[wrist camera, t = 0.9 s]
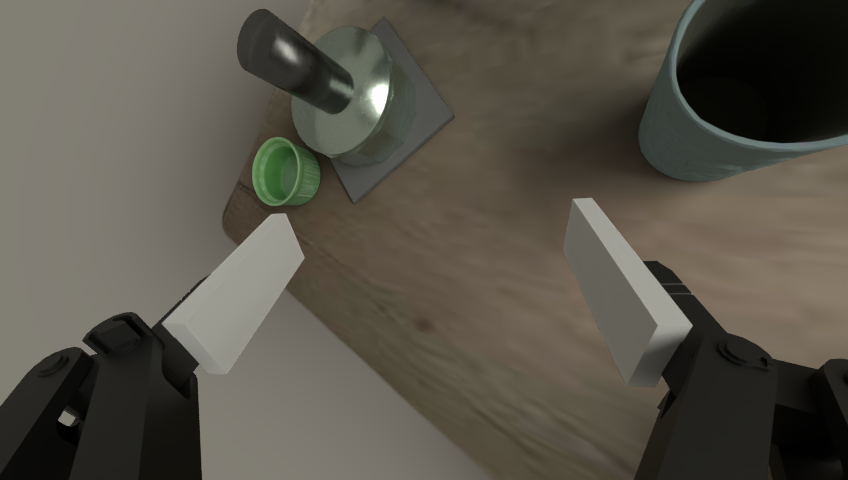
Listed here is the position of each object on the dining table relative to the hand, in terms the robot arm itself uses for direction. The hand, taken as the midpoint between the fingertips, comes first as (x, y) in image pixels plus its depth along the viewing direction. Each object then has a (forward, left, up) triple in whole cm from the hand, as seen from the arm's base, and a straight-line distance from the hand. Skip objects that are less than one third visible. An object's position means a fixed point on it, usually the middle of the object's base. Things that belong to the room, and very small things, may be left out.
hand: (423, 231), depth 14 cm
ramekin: (+19, -23, -19) cm, 35 cm away
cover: (+5, -22, -18) cm, 28 cm away
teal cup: (-18, +1, -19) cm, 26 cm away
